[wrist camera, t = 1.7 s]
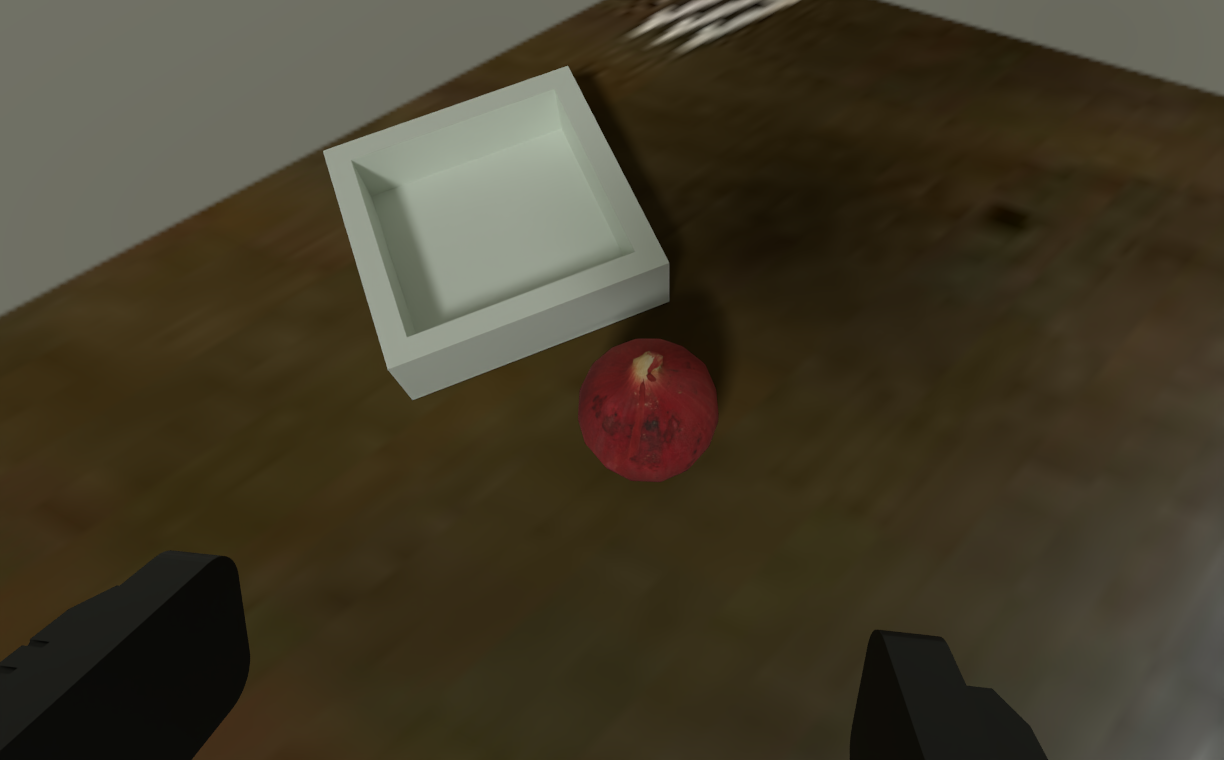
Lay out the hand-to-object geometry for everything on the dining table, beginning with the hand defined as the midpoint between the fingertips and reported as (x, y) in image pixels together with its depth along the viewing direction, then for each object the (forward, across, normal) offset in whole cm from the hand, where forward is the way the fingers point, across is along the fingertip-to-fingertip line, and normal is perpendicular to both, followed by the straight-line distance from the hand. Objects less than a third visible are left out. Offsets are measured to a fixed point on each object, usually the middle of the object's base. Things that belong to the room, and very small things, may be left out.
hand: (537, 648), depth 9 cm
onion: (+24, 0, +8) cm, 25 cm away
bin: (+31, +9, 0) cm, 32 cm away
